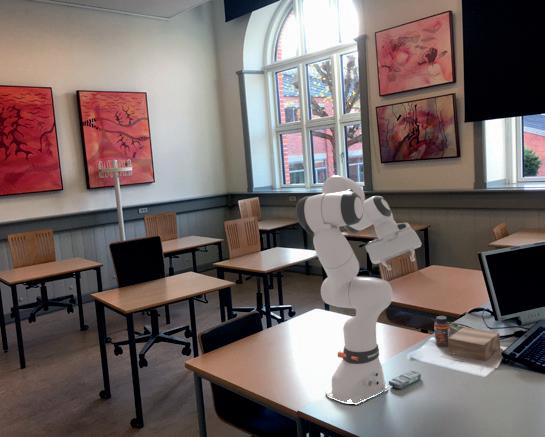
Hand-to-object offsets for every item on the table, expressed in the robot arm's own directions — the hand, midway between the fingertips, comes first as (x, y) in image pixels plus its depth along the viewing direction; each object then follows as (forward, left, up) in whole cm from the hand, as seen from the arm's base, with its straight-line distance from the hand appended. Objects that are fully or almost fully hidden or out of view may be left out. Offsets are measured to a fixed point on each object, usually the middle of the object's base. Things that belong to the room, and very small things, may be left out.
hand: (401, 265), depth 186 cm
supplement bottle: (+19, -4, -37) cm, 42 cm away
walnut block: (+19, -17, -37) cm, 45 cm away
